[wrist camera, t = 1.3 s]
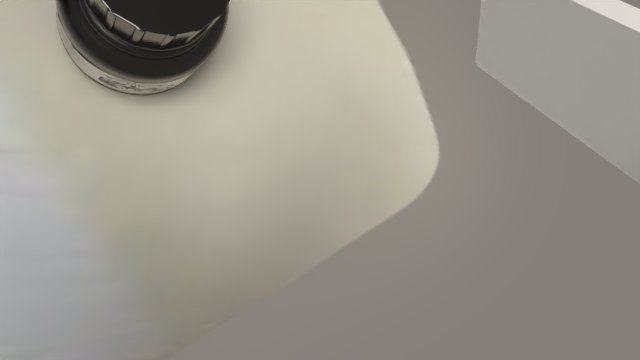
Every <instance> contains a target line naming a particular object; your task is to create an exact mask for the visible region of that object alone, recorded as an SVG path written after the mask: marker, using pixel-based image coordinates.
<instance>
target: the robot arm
mask: <svg viewBox="0 0 640 360" xmlns="http://www.w3.org/2000/svg"><path fill="white" fill-rule="evenodd" d="M475 64H476V65H477V66H478V67H480V68H481V69H483V70H484V71H485V72H487V73H488V74H489V75H491V76H492V77H494V78H495V79H496V80H498V81H499V82H501V83H502V84H503V85H505V86H506V87H507V88H509V89H510V90H511V91H513V92H514V93H515V94H517V95H518V96H520V97H521V98H522V99H524V100H525V101H527V102H528V103H529V104H531V105H532V106H533V107H535V108H536V109H537V110H539V111H540V112H542V113H543V114H544V115H546V116H547V117H548V118H550V119H551V120H553V121H554V122H556V123H557V124H558V125H560V126H561V127H562V128H564V129H565V130H567V131H568V132H569V133H571V134H572V135H573V136H575V137H576V138H577V139H579V140H580V141H582V142H583V143H585V144H586V145H587V146H588V147H590V148H591V149H593V150H594V151H595V152H597V153H598V154H600V155H601V156H602V157H604V158H605V159H606V160H608V161H609V162H611V163H612V164H613V165H615V166H616V167H617V168H619V169H620V170H621V171H623V172H624V173H626V174H627V175H628V176H630V177H631V178H633V179H634V180H635V181H637V182H638V183H639V184H640V9H638V8H636V7H634V6H631V5H628V4H626V3H624V2H622V1H619V0H482V2H481V12H480V23H479V32H478V42H477V53H476V63H475Z"/></svg>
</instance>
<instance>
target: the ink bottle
mask: <svg viewBox="0 0 640 360" xmlns="http://www.w3.org/2000/svg"><path fill="white" fill-rule="evenodd" d="M229 1H230V0H56V4H57V11H56V18H57V27H58V30H59V33H60V36H61V39H62V42H63V44H64V47H65V49H66V51H67V53H68V54H69V56H70V57H71V59H72V60H73V62H74V63H75V64H76V65H77V66H78V67H79V68H80V69H81V70H82V71H83V72H84V73H85V74H86V75H87V76H89V77H90V78H92V79H93V80H95V81H96V82H98V83H100V84H101V85H103V86H106V87H108V88H110V89H113V90H116V91H119V92H124V93H129V94H154V93H159V92H163V91H166V90H169V89H171V88H173V87H175V86H177V85H179V84H180V83H182V82H183V81H184V80H186V79H187V78H188V77H189V76H190V75H191V74H193V73H194V72H195V71H196V70H197V69H198V68H199V67H201V66H202V65H203V64H204V63H205V62H206V61H207V60H208V59H209V57H210V56H211V55H212V54H213V53H214V51H215V50H216V48H217V46H218V45H219V43H220V41H221V39H222V36H223V34H224V31H225V28H226V24H227V20H228V12H229Z"/></svg>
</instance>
